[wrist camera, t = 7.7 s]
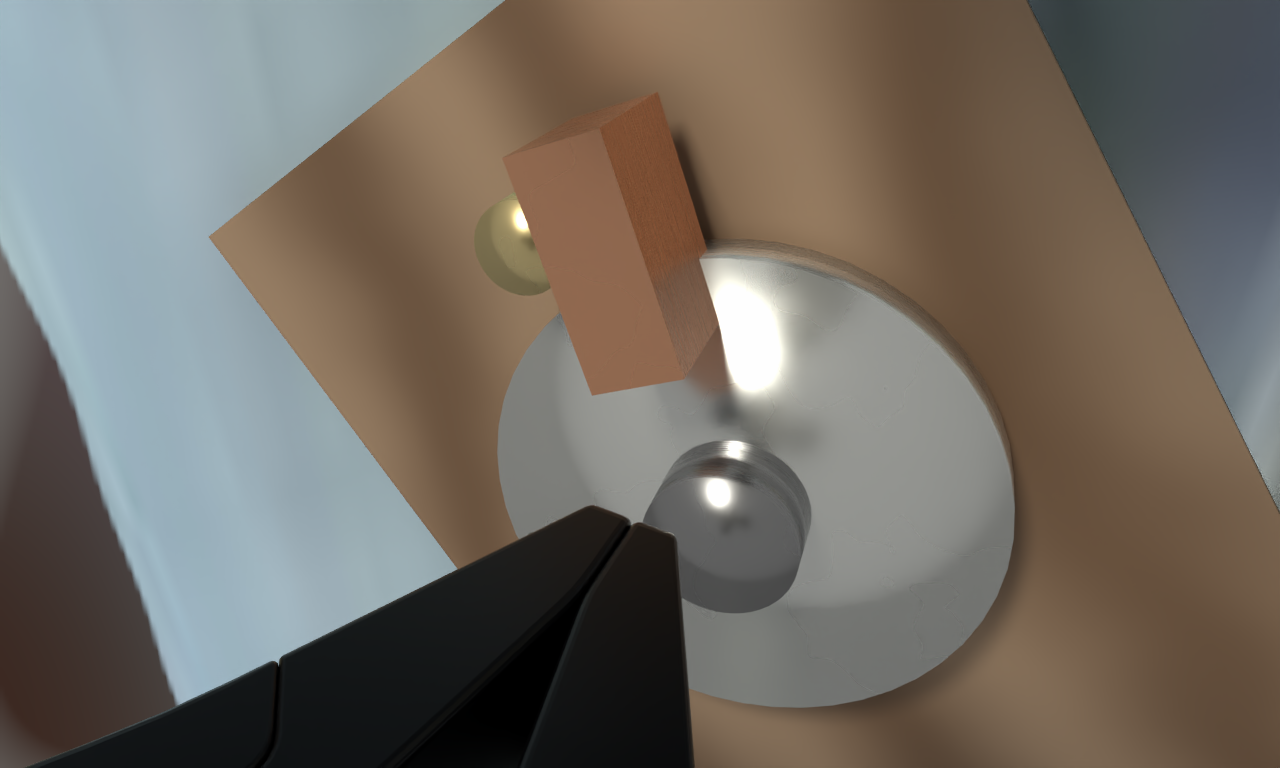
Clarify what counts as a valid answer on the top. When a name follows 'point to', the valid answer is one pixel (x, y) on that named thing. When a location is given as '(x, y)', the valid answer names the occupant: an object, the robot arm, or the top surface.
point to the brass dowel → (509, 249)
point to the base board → (882, 245)
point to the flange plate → (752, 427)
